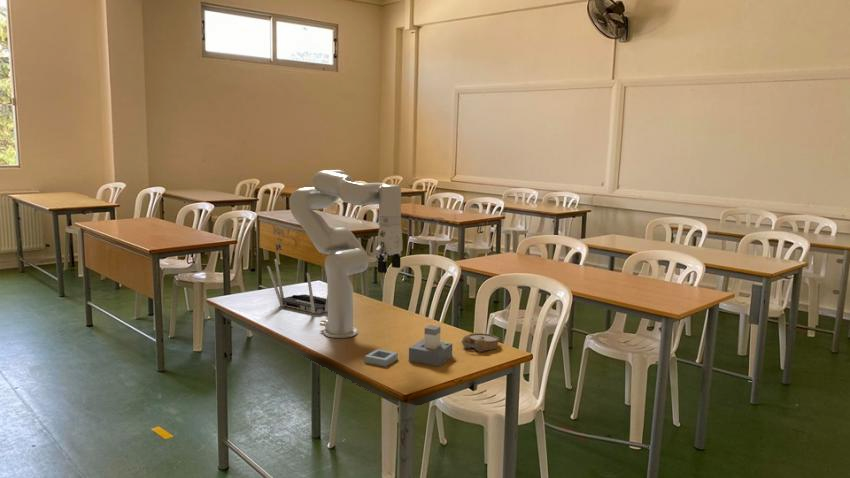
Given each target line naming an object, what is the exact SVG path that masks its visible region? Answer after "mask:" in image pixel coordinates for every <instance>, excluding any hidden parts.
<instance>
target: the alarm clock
mask: <svg viewBox="0 0 850 478" xmlns="http://www.w3.org/2000/svg"><path fill="white" fill-rule="evenodd" d="M500 342H501V341H500V339H499V337H498V336H496V335H493V334H489V333H481V332H477V333H476V332H475V333H474V332H473V333H470V334H467V335H464V336H463V337H462V341H461V343H462V346H463V347H464V348H465V349H470V348H472V349H475V350H476V351H477V352H479V353H484V352H486V351H493V350H496V349H498V348H499V343H500Z"/></svg>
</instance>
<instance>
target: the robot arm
mask: <svg viewBox="0 0 850 478" xmlns="http://www.w3.org/2000/svg"><path fill="white" fill-rule="evenodd" d="M311 179H312V181H311V184H312V186H311V187H310V186H308V187H300V188H298V189H296V190H293V191H292V192H291V195H290V197H289V208H290V213H291V214H292V217H294V218H293V219H295V221H296V222H297V223H298V224H299V225H300V226H301V228H302V229H303V230H304V232H305V234H306V235H307V236H308V238H309V239H310V242H312V244H313V246H314V247H315V248H316V250H317V251H318V252H319V253H320V254H321V255H326V258H325V260H324V270H325V275H326V284H327V285H326V287H327V294H328V311H327V319H323V318H321V320H320V323H319V326H321V327H324V330H323V335H324V336H326V337H328V338H332V339H347V338H351V337H354V336H356V335H357V334H358V329H357V328H356V327H355V326H354V286H353V283H352V281H351V279H350V278H349V276H350V275H354V274H356V275H357V274H360V273H363V272H365V271H366V270H367V269H368V267H369V263H370V261H369V257H368V254H367V252H366V250H365V249H364V247H363V246H362V245H361V243H360V242H359V240H358V239H357V237H356V236H355V234H354V233H353V232H352V231H351V230H349V229H348V228H347V227H341V226H340V227H330V225H329V224H328V223H327V222H326V220H325V219H324V217H322V215H320V213H317V212H316V211H314V210H318V209H319V210H320V209H327V208H329V207H331V206H333V205H334V204H335V203H336V202H337V201H338V200H339V199H341V201H342V202H344V203H346V204H351V205H355V206H362V207H363V206H372V205H373V206H374V205H378V235H377V247H376V249H375V257H376V260H377V272H378V273H381V274H387V272H388V271H387V270H388V261H387V259H388V256H391V268H396V269H399V268H401V256H402V251H403V244H404V243H403V231H402V221H401V220H402V188H401V186H400V185H398V184H387V183H383V182H369V183H368V182H363V183H362V182H361V183H357V182H355V180H354V179H353V177H352V176H351V175H348V173H347V171H344V170H341V169H327V170H320V171H318V172H316V173H315V174H314V175H313V177H312V178H311Z"/></svg>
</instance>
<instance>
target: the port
mask: <svg viewBox="0 0 850 478" xmlns="http://www.w3.org/2000/svg"><path fill="white" fill-rule="evenodd" d="M452 357H453V343H451V342H444V341H440V346H439V347H438V348H436V349H429V348H424V338H422V339H421V340H419V341H417V342H416V343H414V344H412V346H409V348H408V361H409V362H413V363H414V362H415V363H418V364H419V363H420V364H424V365H430V366H435V367H440V366H441V365H443V364H444V363H445V362H447V361H448V360H449V359H451V358H452Z"/></svg>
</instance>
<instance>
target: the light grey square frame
mask: <svg viewBox="0 0 850 478" xmlns="http://www.w3.org/2000/svg"><path fill="white" fill-rule="evenodd" d="M398 354H399V353H398V352H395V351H390V350H384V349H381V348H379V349H378V348H376V349H375V350H372V351H370V352H369V353H368V354H366V355H364V363H365V364H366V363H367V364H370V365H375V366H376V365H377V366H380V367H385V368H386V367H387V366H390V365H391V364H392V363H394V362H395V361H397V360H398V359H399V358H398Z"/></svg>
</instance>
